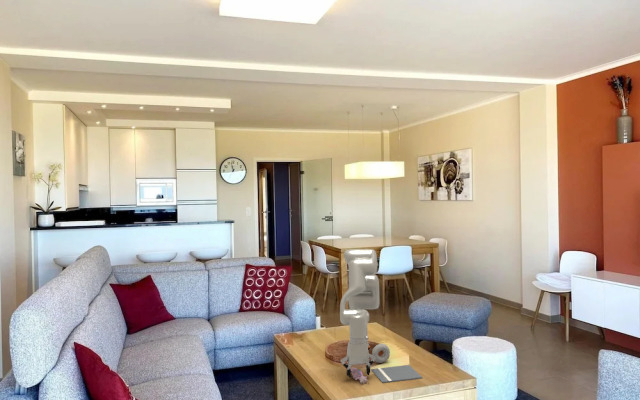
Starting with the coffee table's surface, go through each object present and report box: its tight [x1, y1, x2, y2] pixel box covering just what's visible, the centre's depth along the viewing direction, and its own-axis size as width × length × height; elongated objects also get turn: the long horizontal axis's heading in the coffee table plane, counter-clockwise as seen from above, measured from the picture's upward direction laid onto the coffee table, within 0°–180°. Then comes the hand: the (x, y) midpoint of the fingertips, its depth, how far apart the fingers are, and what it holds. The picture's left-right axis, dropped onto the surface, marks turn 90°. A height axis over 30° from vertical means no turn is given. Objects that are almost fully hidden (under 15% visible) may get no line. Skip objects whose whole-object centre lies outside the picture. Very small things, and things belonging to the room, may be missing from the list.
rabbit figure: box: [350, 367, 370, 386], centre depth 228 cm, size 6×6×15 cm
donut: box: [371, 343, 391, 364], centre depth 248 cm, size 10×4×10 cm, turn 108°
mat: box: [370, 364, 423, 384], centre depth 233 cm, size 16×20×1 cm
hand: (358, 375), depth 229 cm, fingers open, 8 cm apart
